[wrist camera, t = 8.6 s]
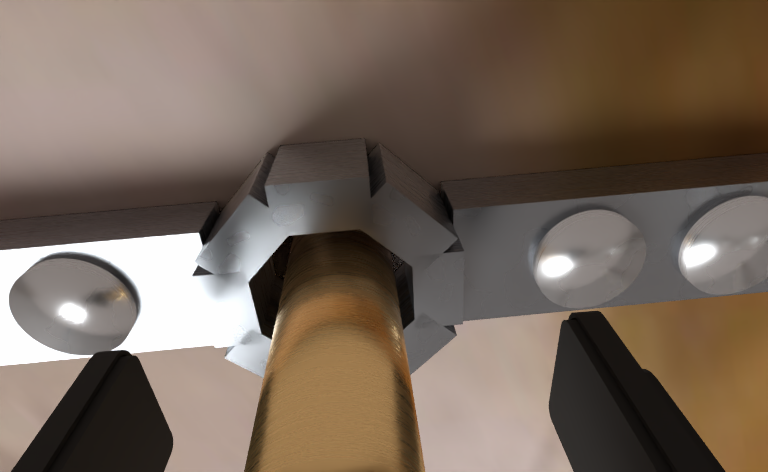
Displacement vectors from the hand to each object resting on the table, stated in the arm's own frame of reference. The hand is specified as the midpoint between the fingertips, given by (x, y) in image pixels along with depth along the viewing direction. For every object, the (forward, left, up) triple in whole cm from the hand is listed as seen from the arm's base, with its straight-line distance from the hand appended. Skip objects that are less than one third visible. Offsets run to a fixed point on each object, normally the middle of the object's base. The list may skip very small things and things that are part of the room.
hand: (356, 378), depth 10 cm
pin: (0, 0, -6) cm, 6 cm away
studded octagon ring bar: (+1, 0, -6) cm, 6 cm away
